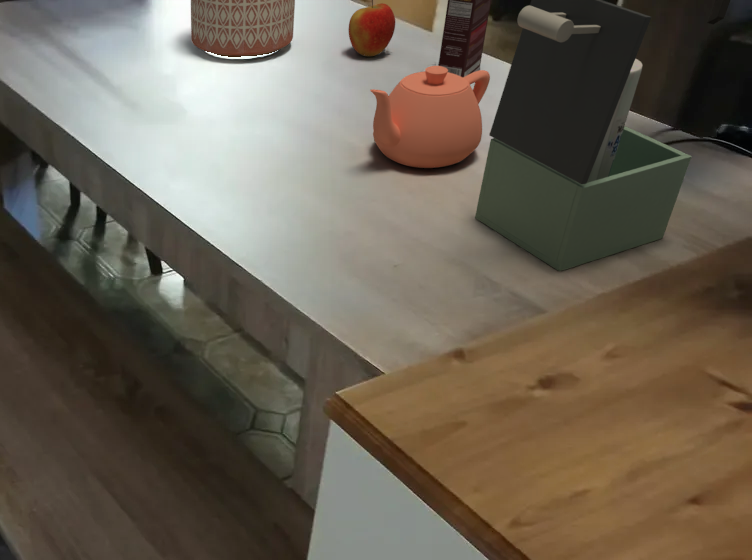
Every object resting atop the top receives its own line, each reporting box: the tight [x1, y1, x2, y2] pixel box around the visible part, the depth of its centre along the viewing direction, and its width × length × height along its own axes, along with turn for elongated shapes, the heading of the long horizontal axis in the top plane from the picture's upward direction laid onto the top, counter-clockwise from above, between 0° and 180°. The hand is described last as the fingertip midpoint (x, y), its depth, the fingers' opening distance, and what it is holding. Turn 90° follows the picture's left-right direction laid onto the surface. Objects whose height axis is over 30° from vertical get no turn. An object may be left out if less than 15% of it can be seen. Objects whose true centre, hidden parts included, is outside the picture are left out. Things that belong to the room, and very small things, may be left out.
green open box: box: [474, 126, 692, 272], centre depth 116 cm, size 17×16×11 cm
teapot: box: [369, 65, 491, 169], centre depth 133 cm, size 22×15×12 cm
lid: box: [489, 0, 652, 184], centre depth 103 cm, size 18×16×7 cm
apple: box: [348, 0, 396, 57], centre depth 166 cm, size 8×8×10 cm
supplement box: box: [437, 0, 492, 77], centre depth 154 cm, size 9×5×16 cm, turn 144°
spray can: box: [587, 58, 643, 183], centre depth 112 cm, size 6×6×20 cm
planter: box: [190, 0, 296, 57], centre depth 171 cm, size 19×19×15 cm
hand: (658, 8), depth 112 cm, fingers open, 13 cm apart
